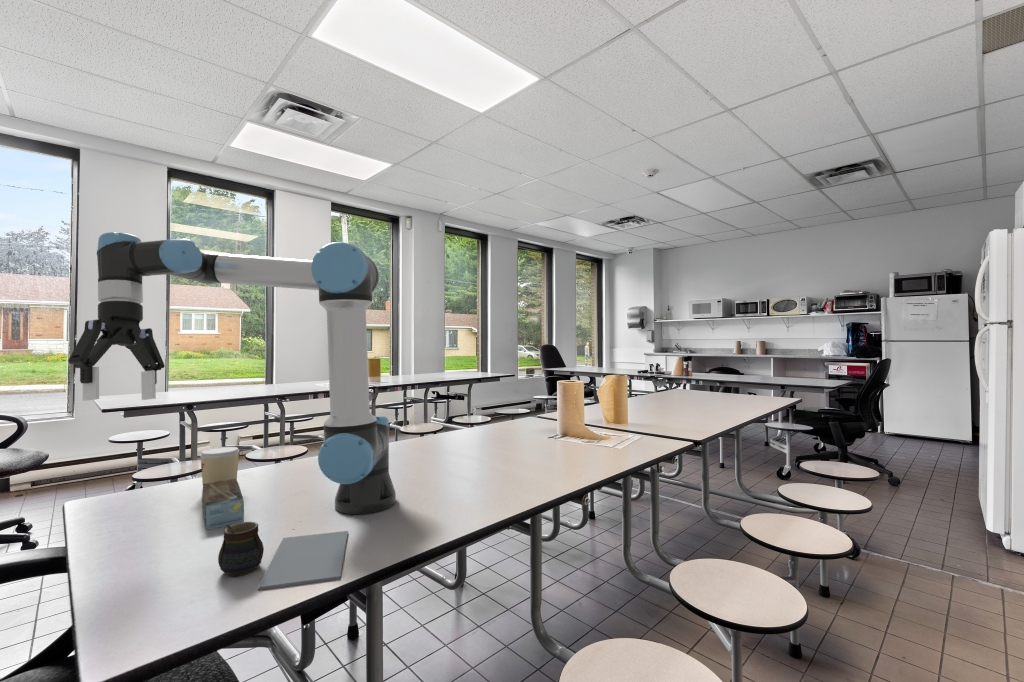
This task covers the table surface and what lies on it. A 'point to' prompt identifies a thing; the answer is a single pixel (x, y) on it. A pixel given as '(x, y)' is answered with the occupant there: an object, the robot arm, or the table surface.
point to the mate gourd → (240, 549)
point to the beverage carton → (222, 503)
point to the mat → (306, 560)
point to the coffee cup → (219, 464)
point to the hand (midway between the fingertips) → (121, 399)
